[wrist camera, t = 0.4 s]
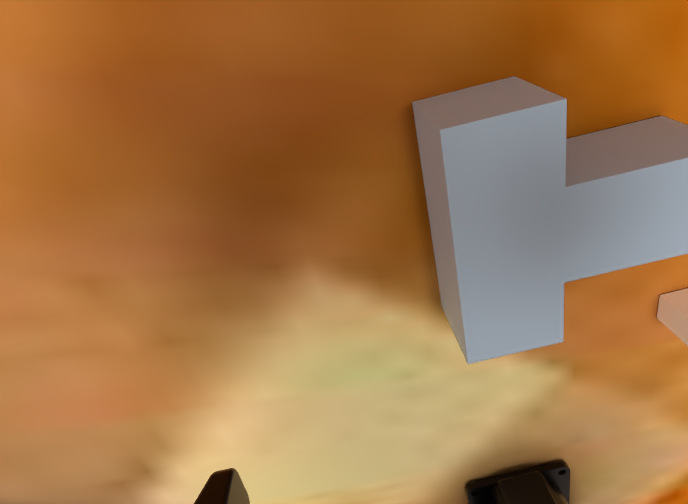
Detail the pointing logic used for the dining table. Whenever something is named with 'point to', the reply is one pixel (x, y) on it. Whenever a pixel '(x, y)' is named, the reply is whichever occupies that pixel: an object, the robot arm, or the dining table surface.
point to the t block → (539, 207)
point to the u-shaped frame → (675, 313)
